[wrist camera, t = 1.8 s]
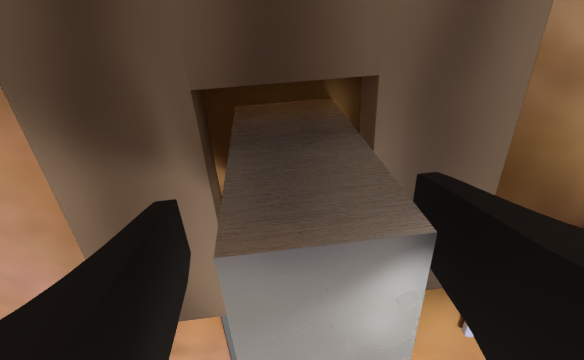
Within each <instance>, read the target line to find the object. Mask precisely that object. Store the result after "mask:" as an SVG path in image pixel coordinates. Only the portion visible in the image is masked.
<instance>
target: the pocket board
mask: <svg viewBox="0 0 584 360" xmlns="http://www.w3.org/2000/svg"><path fill="white" fill-rule="evenodd" d="M552 3H553V0H0V85H1V87H2V90H3V92H4V94H5V96H6V98H7V100H8V102H9V104H10V106H11V108H12V110H13V112H14V114H15V116H16V118H17V120H18V122H19V124H20V126H21V128H22V130H23V132H24V135H25V137H26V139H27V141H28V143H29V145H30V147H31V149H32V151H33V153H34V155H35V157H36V159H37V161H38V163H39V165H40V167H41V169H42V171H43V173H44V175H45V177H46V180H47V182H48V184H49V186H50V188H51V190H52V192H53V194H54V196H55V198H56V200H57V202H58V204H59V206H60V208H61V210H62V212H63V214H64V216H65V218H66V220H67V222H68V225H69V227H70V229H71V231H72V233H73V235H74V237H75V239H76V241H77V243H78V245H79V247H80V249H81V251H82V253H83V255H84V257H85V259H87V258H89V257H90V256H91V255H92V254H94V253H95V252H96V251H97V250H99V249H100V248H101V247H102V246H103V245H105V244H106V243H107V242H108V241H109V240H110V239H112V238H113V237H114V236H115V235H116V234H117V233H118V232H120V231H121V230H122V229H123V228H124V227H125V226H127V225H128V224H129V223H130V222H131V221H132V220H133V219H134V218H136V217H137V216H138V215H139V214H140V213H141V212H142V211H144V210H145V209H146V208H147V207H148V206H149V205H151V204H152V203H153V202H155V201H164V200H173V199H176V200H177V204H178V207H179V211H180V215H181V218H182V222H183V225H184V229H185V233H186V236H187V240H188V244H189V247H190V251H191V259H190V269H189V277H188V285H187V289H186V293H185V297H184V301H183V305H182V309H181V313H180V317H179V321H186V320H194V319H202V318H210V317H218V316H225V315H227V314H226V310H225V306H224V301H223V297H222V293H221V288H220V284H219V280H218V276H217V271H216V267H215V263H214V251H215V244H216V237H217V230H218V224H219V217H220V210H221V203H222V197H221V192H220V187H219V182H218V176H217V171H216V166H215V161H214V155H213V150H212V145H211V140H210V135H209V129H208V124H207V119H206V114H205V108H204V103H203V98H202V93H201V89H214V88H226V87H238V86H250V85H263V84H275V83H287V82H300V81H312V80H324V79H336V78H349V77H361V76H362V83H361V103H360V124H359V134H360V135H361V136H362V137H363V139H364V140H365V141H366V142H367V144H368V145H369V146H370V147H371V149H372V150H373V151H374V153H375V154H376V155H377V156H378V158H379V159H380V160H381V161H382V163H383V164H384V165H385V167H386V168H387V169H388V170H389V172H390V173H391V174H392V175H393V177H394V178H395V179H396V180H397V182H398V183H399V184H400V186H401V187H402V188H403V189H404V191H405V192H406V193H407V194H408V196H409V197H410V198H411V199H412V201H413V197H414V191H415V184H416V178H417V174H420V173H430V172H439V173H442V174H445V175H448V176H450V177H453V178H455V179H458V180H460V181H463V182H465V183H467V184H470V185H472V186H474V187H477V188H479V189H481V190H484V191H486V192H488V193H491V194H493V195H496V192H497V188H498V185H499V181H500V178H501V175H502V171H503V168H504V165H505V161H506V158H507V155H508V151H509V148H510V144H511V141H512V138H513V134H514V131H515V128H516V124H517V121H518V118H519V114H520V111H521V107H522V104H523V101H524V97H525V94H526V91H527V87H528V84H529V81H530V77H531V74H532V70H533V67H534V64H535V60H536V57H537V54H538V50H539V47H540V44H541V40H542V37H543V33H544V30H545V27H546V23H547V20H548V17H549V13H550V10H551V7H552ZM437 288H443V287H442V286H441V284H440V283H439V281H438V280H437V278H436V277H435V275H434V274H433V272H432V270H431V269H430V270H429V275H428V280H427V284H426V289H425V290H429V289H437Z"/></svg>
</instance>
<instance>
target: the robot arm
mask: <svg viewBox="0 0 584 360" xmlns="http://www.w3.org/2000/svg"><path fill="white" fill-rule="evenodd" d="M413 202H414V203H415V205H416V206H417V207H418V208H419V210H420V211H421V212H422V213H423V215H424V216H425V217H426V218H427V220H428V221H429V222H430V224H431V225H432V226H433V227H434V229H435V230H436V231H437V236H436V241H435V246H434V251H433V256H432V260H431V265H430V269H431V270H432V272H433V274H434V275H435V277H436V278H437V280H438V281H439V283H440V284H441V286H442V287H443V289H444V290H445V292H446V293H447V295H448V296H449V298H450V299H451V301H452V302H453V304H454V305H455V307H456V308H457V310H458V311H459V313H460V314H461V316H462V317H463V319H464V324H463V328H462V332H463V334H464V335H465V336H466V337H474V338H475V339H476V341H477V343H478V345H479V347H480V349H481V351H482V353H483V355H484V356H485V358H486V360H584V229H583V228H580V227H577V226H573V225H570V224H567V223H565V222H562V221H559V220H556V219H553V218H550V217H548V216H545V215H543V214H540V213H537V212H535V211H532V210H529V209H527V208H524V207H522V206H519V205H517V204H514V203H512V202H510V201H507V200H505V199H502V198H500V197H498V196H495V195H493V194H491V193H488V192H486V191H484V190H481V189H479V188H477V187H474V186H472V185H470V184H467V183H465V182H463V181H460V180H458V179H455V178H453V177H450V176H448V175H445V174H442V173H439V172H430V173H420V174H417V178H416V184H415V191H414V197H413ZM190 259H191V251H190V247H189V244H188V240H187V236H186V233H185V229H184V225H183V222H182V218H181V215H180V211H179V207H178V204H177V200H176V199H173V200H164V201H155V202H153V203H152V204H151V205H149V206H148V207H147V208H146V209H145V210H144V211H142V212H141V213H140V214H139V215H138V216H137V217H136V218H134V219H133V220H132V221H131V222H130V223H129V224H128V225H127V226H125V227H124V228H123V229H122V230H121V231H120V232H118V233H117V234H116V235H115V236H114V237H113V238H112V239H110V240H109V241H108V242H107V243H106V244H105V245H103V246H102V247H101V248H100V249H99V250H97V251H96V252H95V253H94V254H92V255H91V256H90V257H89V258H87V259H86V260H85V261H84V262H82V263H81V264H80V265H79V266H77V267H76V268H75V269H74V270H72V271H71V272H70V273H68V274H67V275H66V276H64V277H63V278H62V279H60V280H59V281H58V282H56V283H55V284H54V285H52V286H51V287H49V288H48V289H47V290H45V291H44V292H42V293H41V294H39V295H38V296H36V297H35V298H33V299H32V300H30V301H29V302H28V303H26V304H25V305H23V306H22V307H20V308H18V309H17V310H15V311H14V312H12V313H11V314H9V315H7V316H6V317H4V318H2V319H1V320H0V360H169V356H170V352H171V348H172V344H173V341H174V337H175V333H176V329H177V325H178V321H179V317H180V313H181V309H182V305H183V301H184V297H185V293H186V289H187V285H188V277H189V269H190Z"/></svg>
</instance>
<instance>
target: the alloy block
mask: <svg viewBox="0 0 584 360" xmlns="http://www.w3.org/2000/svg"><path fill="white" fill-rule="evenodd" d="M436 236H437V231H436V230H435V229H434V227H433V226H432V225H431V224H430V222H429V221H428V220H427V218H426V217H425V216H424V215H423V213H422V212H421V211H420V210H419V208H418V207H417V206H416V205H415V203H414V202H413V201H412V199H411V198H410V197H409V196H408V194H407V193H406V192H405V191H404V189H403V188H402V187H401V186H400V184H399V183H398V182H397V180H396V179H395V178H394V177H393V175H392V174H391V173H390V172H389V170H388V169H387V168H386V167H385V165H384V164H383V163H382V161H381V160H380V159H379V158H378V156H377V155H376V154H375V153H374V151H373V150H372V149H371V147H370V146H369V145H368V144H367V142H366V141H365V140H364V139H363V137H362V136H361V135H360V134H359V132H358V131H357V130H356V128H355V127H354V126H353V125H352V123H351V122H350V121H349V120H348V118H347V117H346V116H345V115H344V113H343V112H342V111H341V109H340V108H339V107H338V106H337V104H336V103H335V102H334V101H333V99H332V98H325V99H313V100H301V101H290V102H278V103H266V104H255V105H243V106H235V113H234V120H233V127H232V134H231V141H230V147H229V154H228V161H227V168H226V175H225V182H224V189H223V196H222V203H221V210H220V217H219V224H218V230H217V237H216V244H215V251H214V263H215V267H216V271H217V276H218V280H219V284H220V288H221V293H222V297H223V301H224V306H225V310H226V314H227V319H228V323H229V327H230V332H231V336H232V340H233V345H234V349H235V353H236V358H237V360H411V356H412V352H413V347H414V342H415V337H416V332H417V328H418V323H419V318H420V313H421V308H422V304H423V299H424V294H425V289H426V284H427V280H428V275H429V270H430V265H431V260H432V256H433V251H434V246H435V241H436Z"/></svg>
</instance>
